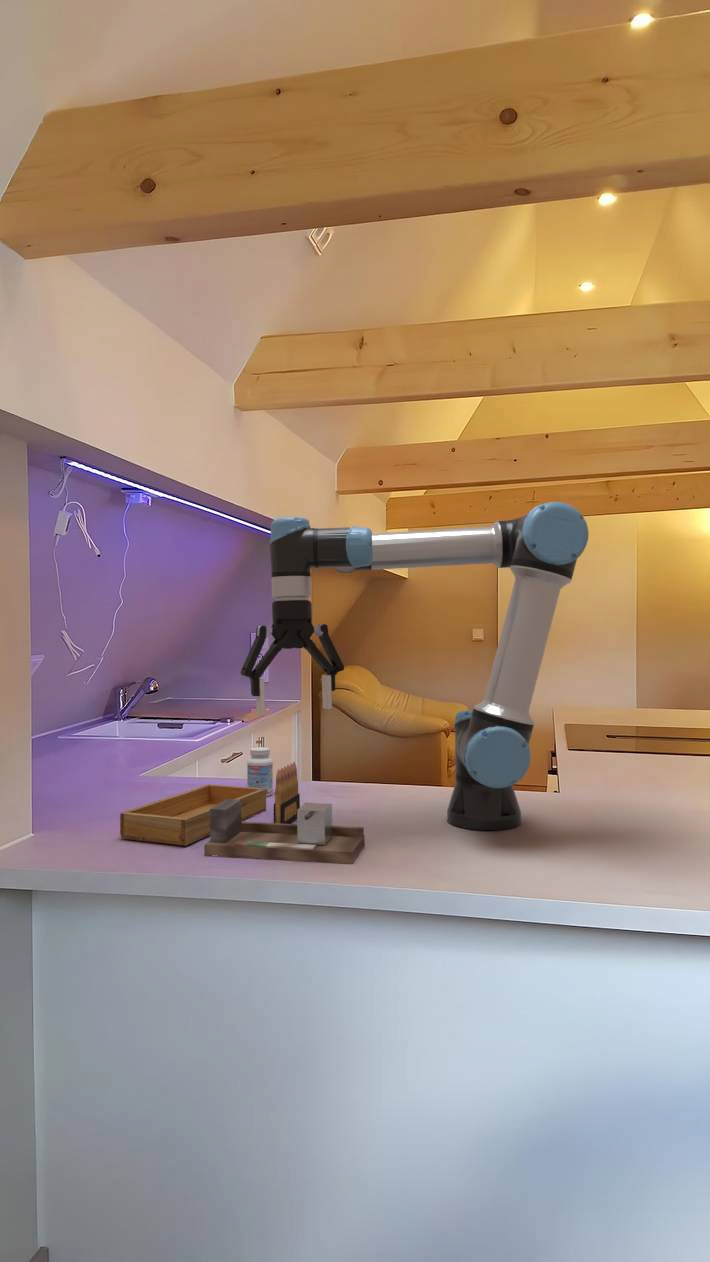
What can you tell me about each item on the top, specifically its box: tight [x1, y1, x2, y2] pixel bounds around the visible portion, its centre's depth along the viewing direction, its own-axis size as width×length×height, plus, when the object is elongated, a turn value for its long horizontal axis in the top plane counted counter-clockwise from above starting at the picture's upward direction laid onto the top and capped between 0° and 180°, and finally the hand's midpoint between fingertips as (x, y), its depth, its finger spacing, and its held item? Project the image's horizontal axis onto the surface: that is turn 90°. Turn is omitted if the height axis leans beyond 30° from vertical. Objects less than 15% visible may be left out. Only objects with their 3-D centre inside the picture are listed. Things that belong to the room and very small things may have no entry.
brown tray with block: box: [203, 799, 366, 865], centre depth 141 cm, size 27×11×8 cm, turn 78°
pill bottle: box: [246, 746, 274, 798], centre depth 187 cm, size 6×6×11 cm
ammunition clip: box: [273, 761, 301, 824], centre depth 161 cm, size 11×2×12 cm, turn 164°
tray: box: [119, 783, 267, 847], centre depth 161 cm, size 31×15×6 cm, turn 158°
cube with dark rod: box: [296, 802, 333, 845], centre depth 139 cm, size 5×9×6 cm, turn 168°
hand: (294, 711), depth 148 cm, fingers open, 13 cm apart
